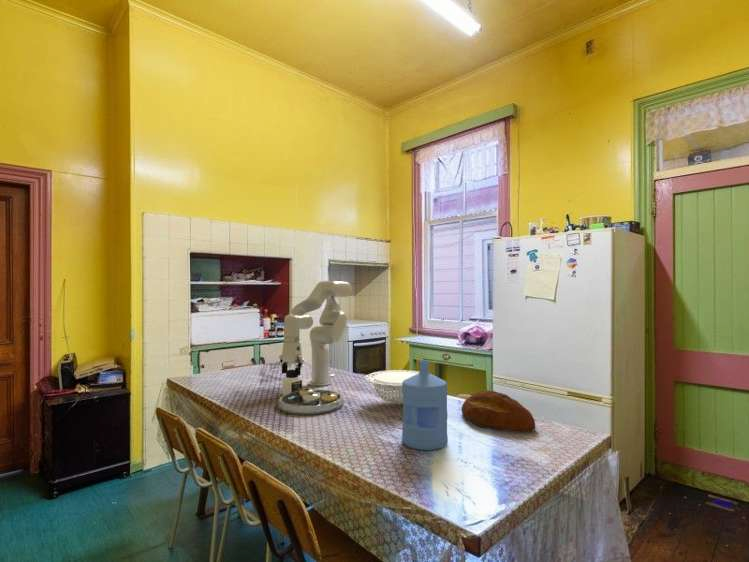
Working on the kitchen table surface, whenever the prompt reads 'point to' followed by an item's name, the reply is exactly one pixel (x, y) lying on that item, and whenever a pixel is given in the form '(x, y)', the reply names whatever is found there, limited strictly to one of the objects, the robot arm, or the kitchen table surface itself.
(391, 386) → the colander
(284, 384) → the medicine bottle
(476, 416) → the bread
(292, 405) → the carrier
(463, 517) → the kitchen table surface
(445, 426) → the water jug
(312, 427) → the kitchen table surface
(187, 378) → the kitchen table surface
